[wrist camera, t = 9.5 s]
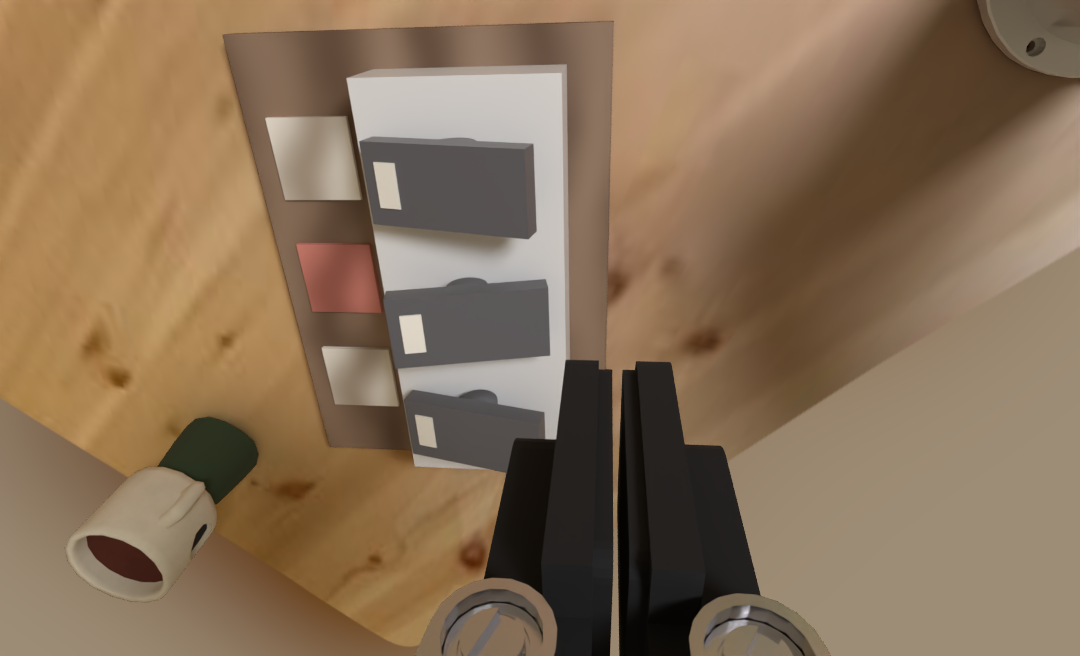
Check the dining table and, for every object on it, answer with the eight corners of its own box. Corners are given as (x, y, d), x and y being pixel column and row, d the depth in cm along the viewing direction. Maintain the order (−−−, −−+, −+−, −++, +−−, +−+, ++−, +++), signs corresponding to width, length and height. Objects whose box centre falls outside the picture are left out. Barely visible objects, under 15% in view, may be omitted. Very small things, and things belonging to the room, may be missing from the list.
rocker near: (544, 136, 30) (523, 149, 28) (546, 221, 32) (527, 240, 30) (388, 130, 33) (357, 141, 30) (399, 209, 35) (372, 224, 33)
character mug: (224, 494, 54) (123, 625, 43) (157, 444, 52) (32, 569, 41) (296, 438, 50) (205, 568, 39) (227, 382, 48) (109, 502, 37)
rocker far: (551, 398, 38) (537, 425, 35) (553, 452, 40) (540, 480, 38) (423, 377, 40) (402, 400, 38) (431, 428, 43) (412, 454, 40)
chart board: (613, 20, 33) (613, 22, 31) (603, 448, 47) (603, 460, 46) (233, 33, 35) (219, 35, 34) (335, 437, 50) (328, 449, 48)
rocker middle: (542, 268, 36) (548, 288, 33) (544, 333, 38) (550, 356, 35) (388, 280, 35) (383, 301, 32) (399, 345, 37) (395, 369, 35)
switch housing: (566, 64, 33) (561, 72, 30) (570, 436, 46) (567, 473, 42) (373, 69, 34) (346, 77, 31) (429, 431, 47) (414, 466, 43)
